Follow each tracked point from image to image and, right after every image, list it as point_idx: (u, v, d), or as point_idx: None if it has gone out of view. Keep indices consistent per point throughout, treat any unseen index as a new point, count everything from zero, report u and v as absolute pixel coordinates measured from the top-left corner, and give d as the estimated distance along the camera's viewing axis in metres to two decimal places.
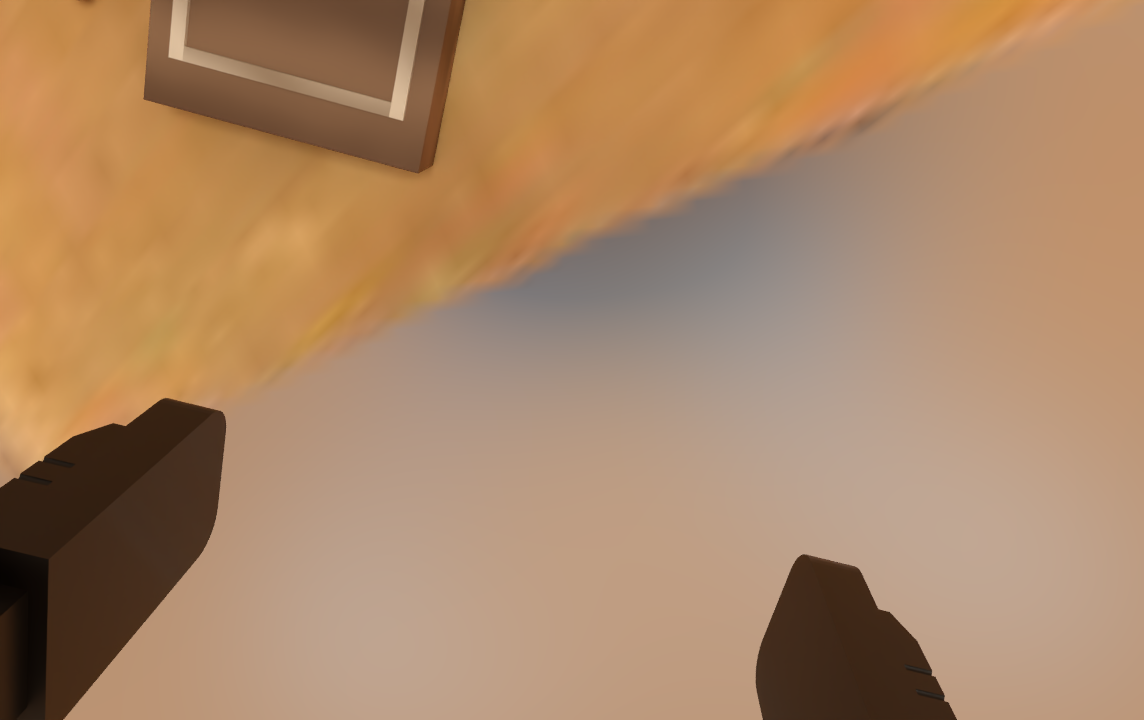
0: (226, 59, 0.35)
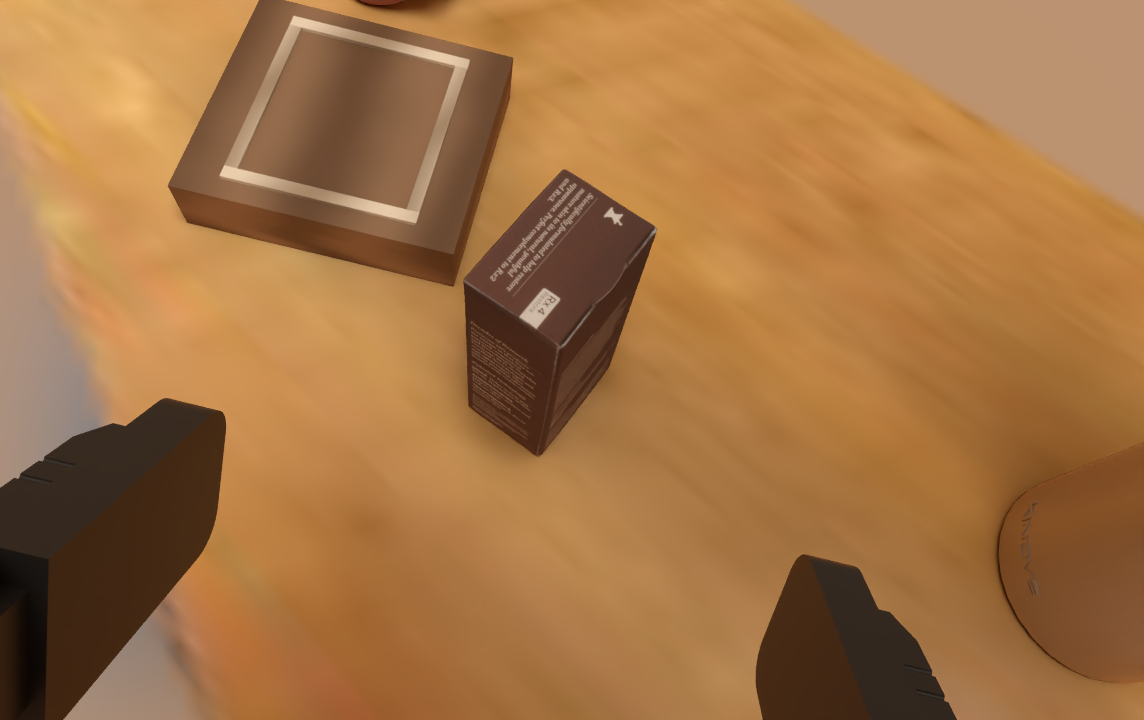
0: (288, 54, 0.41)
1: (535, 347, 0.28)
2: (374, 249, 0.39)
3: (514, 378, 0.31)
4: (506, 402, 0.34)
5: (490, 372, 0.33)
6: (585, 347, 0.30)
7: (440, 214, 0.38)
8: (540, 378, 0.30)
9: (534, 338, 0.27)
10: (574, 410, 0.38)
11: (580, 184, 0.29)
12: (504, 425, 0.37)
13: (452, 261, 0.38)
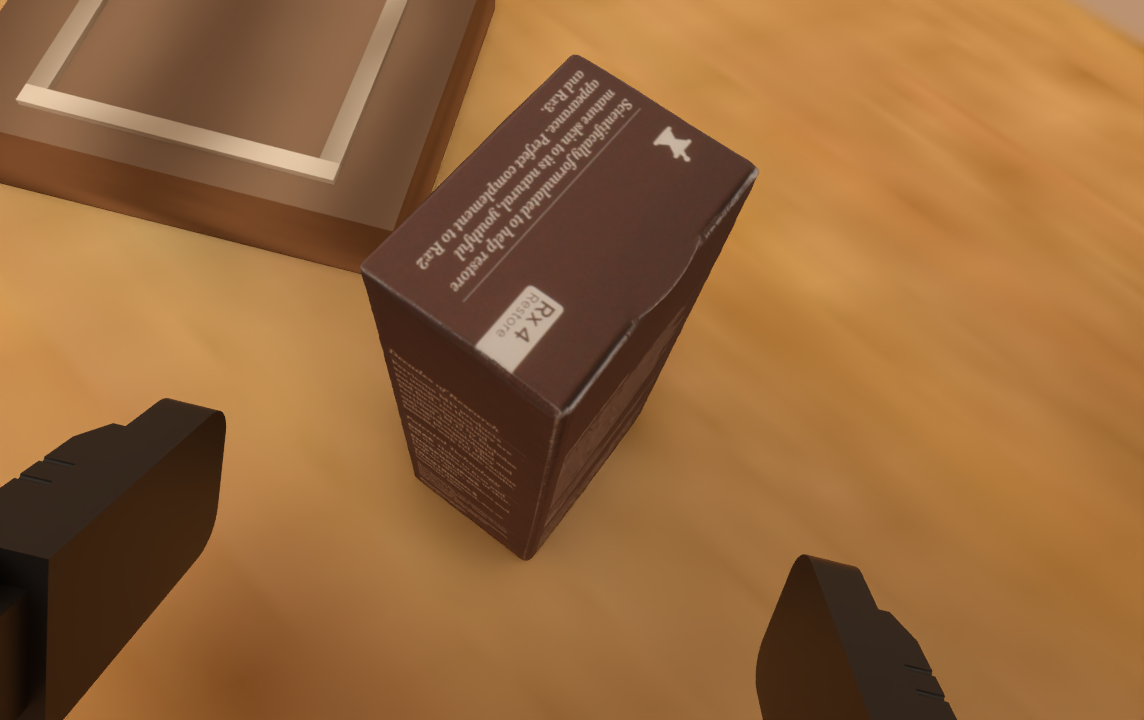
0: None
1: (510, 408, 0.13)
2: (270, 223, 0.24)
3: (478, 452, 0.17)
4: (469, 484, 0.20)
5: (436, 436, 0.18)
6: (611, 400, 0.16)
7: (374, 167, 0.24)
8: (524, 462, 0.15)
9: (509, 391, 0.13)
10: (585, 486, 0.23)
11: (606, 82, 0.15)
12: (470, 512, 0.22)
13: None
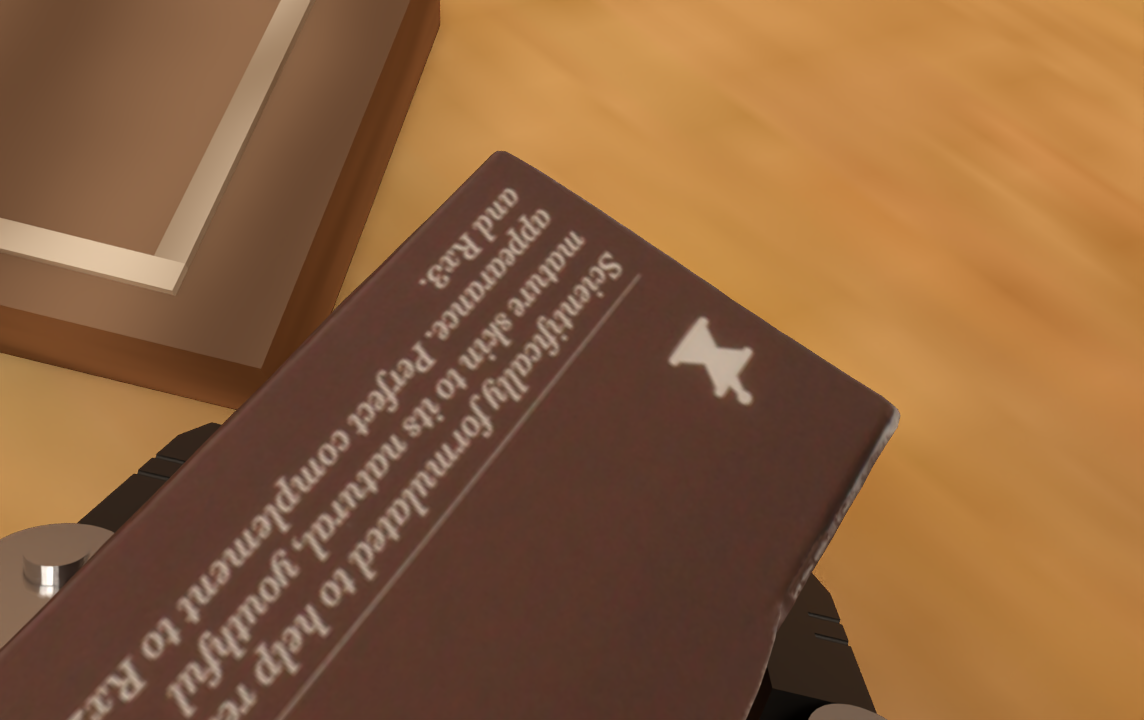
0: None
1: None
2: (87, 348, 0.16)
3: None
4: None
5: None
6: None
7: (240, 266, 0.16)
8: None
9: None
10: None
11: (567, 214, 0.07)
12: None
13: None
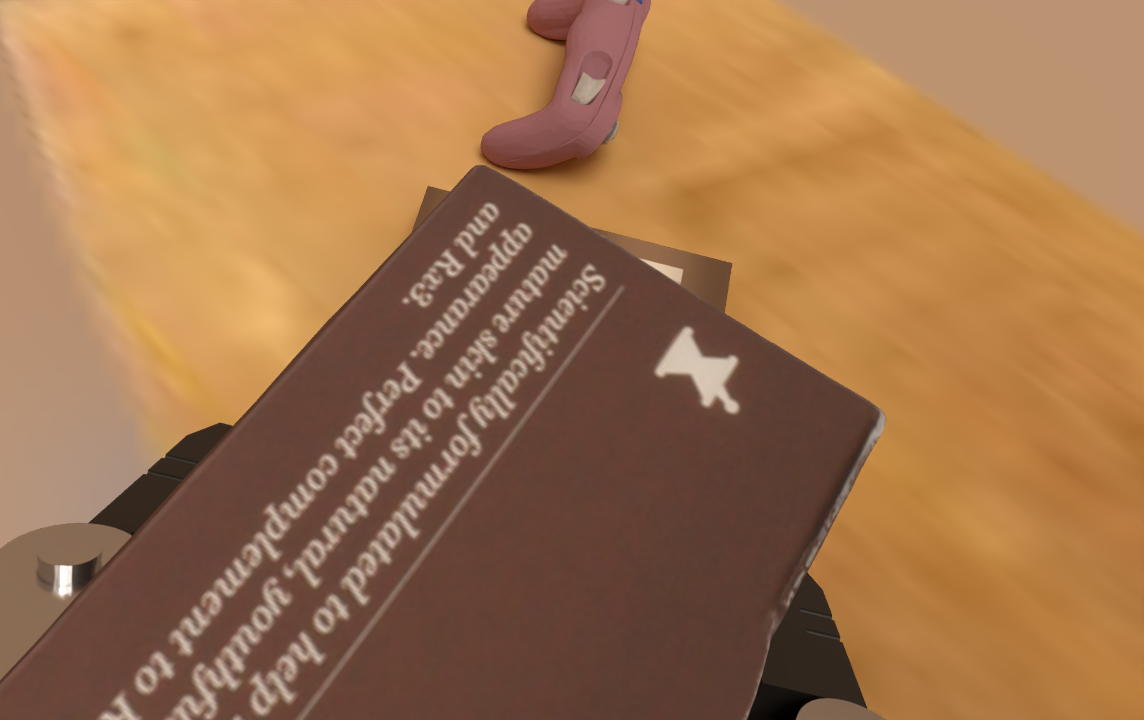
0: None
1: None
2: None
3: None
4: None
5: None
6: None
7: None
8: None
9: None
10: None
11: (548, 227, 0.07)
12: None
13: None
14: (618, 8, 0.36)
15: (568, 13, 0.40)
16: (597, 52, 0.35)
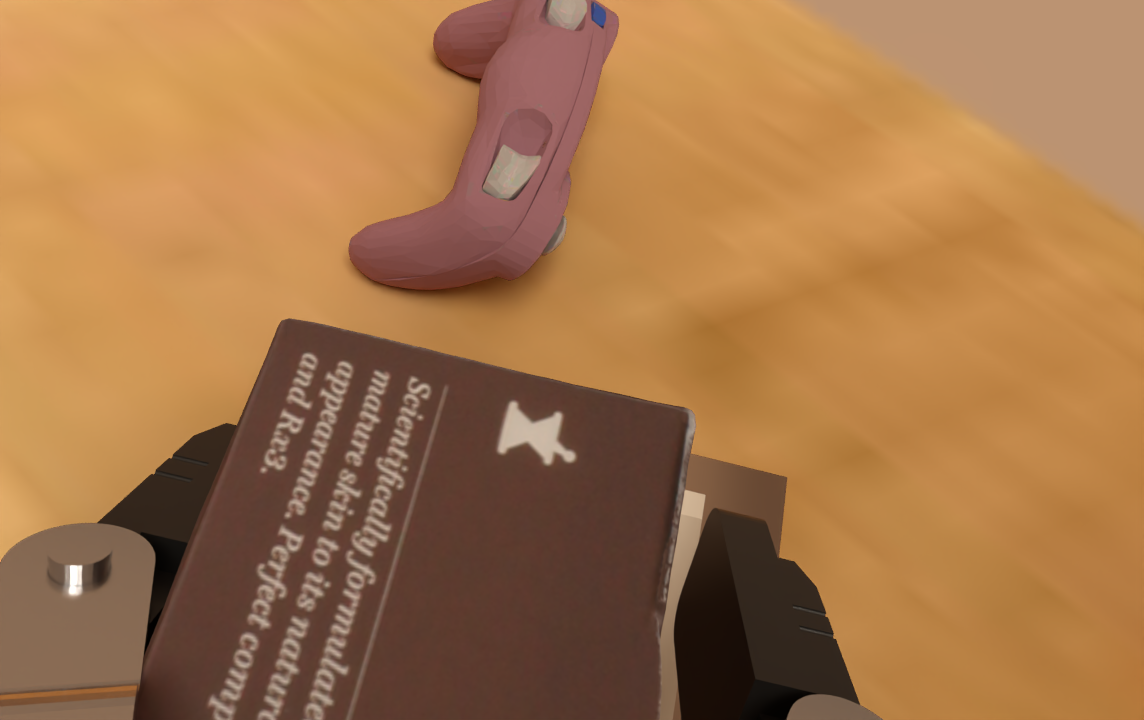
0: None
1: None
2: None
3: None
4: None
5: None
6: None
7: None
8: None
9: None
10: None
11: (365, 357, 0.08)
12: None
13: None
14: (563, 36, 0.22)
15: (492, 41, 0.26)
16: (527, 111, 0.21)
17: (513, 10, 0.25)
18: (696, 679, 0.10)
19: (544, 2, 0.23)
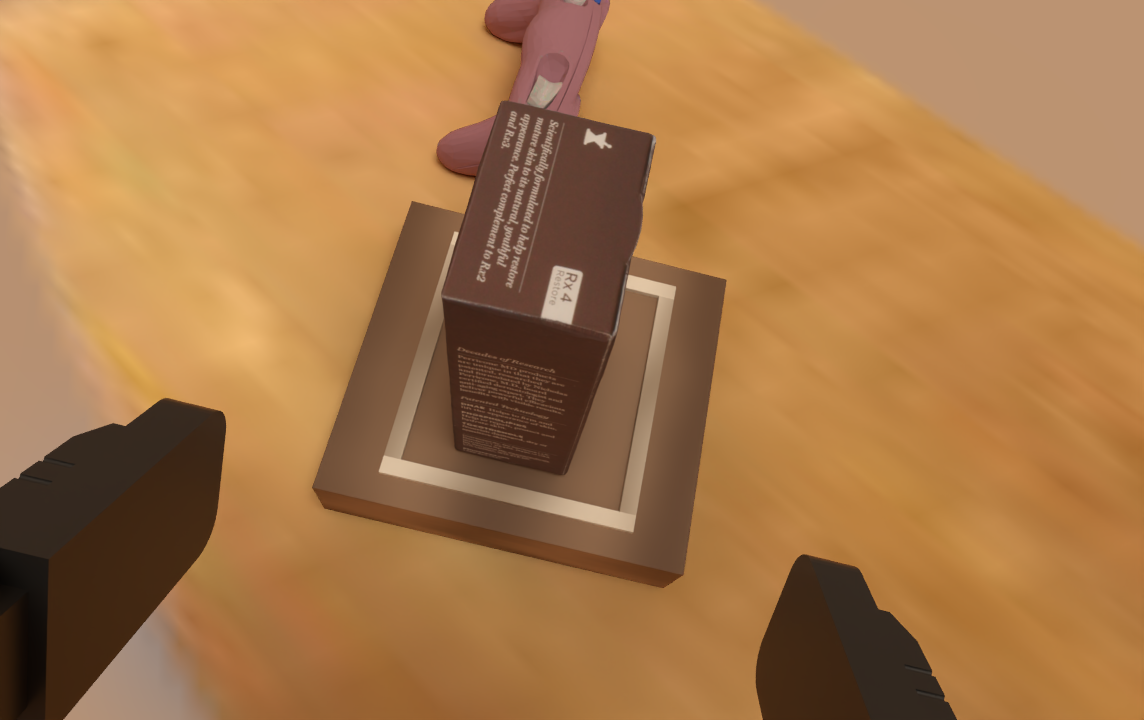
0: None
1: (569, 349, 0.19)
2: (573, 556, 0.30)
3: (530, 398, 0.23)
4: (516, 430, 0.26)
5: (489, 402, 0.24)
6: None
7: (660, 514, 0.29)
8: (576, 385, 0.21)
9: (571, 337, 0.19)
10: None
11: (534, 112, 0.21)
12: (513, 456, 0.28)
13: (677, 577, 0.29)
14: (575, 9, 0.35)
15: (526, 15, 0.39)
16: (553, 55, 0.34)
17: None
18: None
19: None
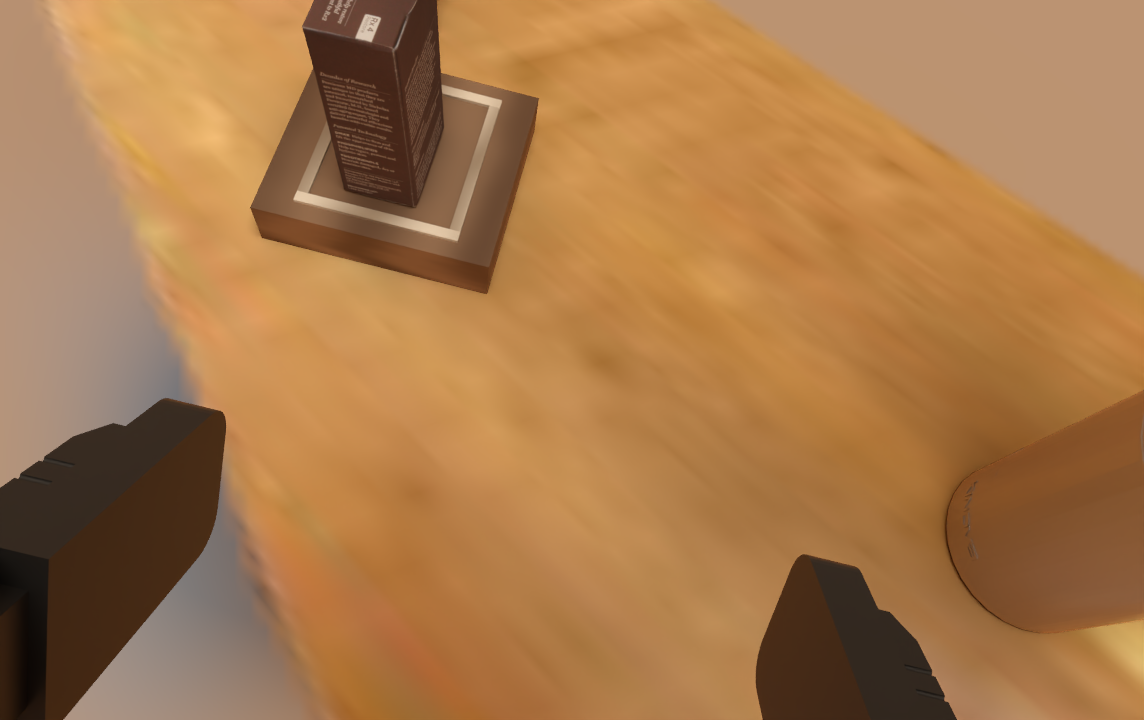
0: None
1: (376, 63, 0.35)
2: (421, 262, 0.46)
3: (371, 118, 0.39)
4: (372, 156, 0.42)
5: (350, 128, 0.40)
6: (415, 69, 0.38)
7: (477, 233, 0.45)
8: (390, 99, 0.37)
9: (373, 51, 0.35)
10: (429, 162, 0.46)
11: None
12: (378, 188, 0.44)
13: (487, 273, 0.45)
14: None
15: None
16: None
17: None
18: None
19: None
